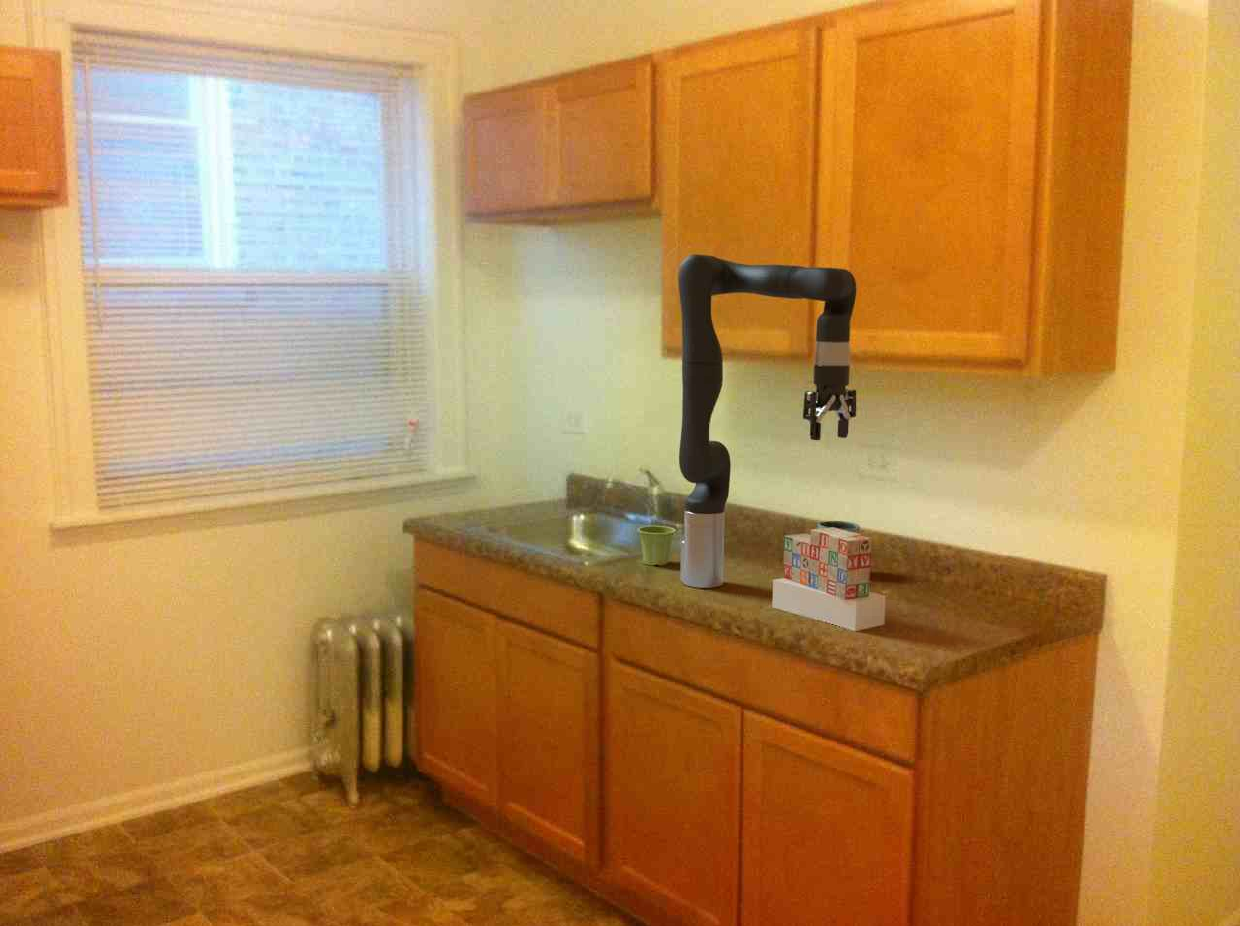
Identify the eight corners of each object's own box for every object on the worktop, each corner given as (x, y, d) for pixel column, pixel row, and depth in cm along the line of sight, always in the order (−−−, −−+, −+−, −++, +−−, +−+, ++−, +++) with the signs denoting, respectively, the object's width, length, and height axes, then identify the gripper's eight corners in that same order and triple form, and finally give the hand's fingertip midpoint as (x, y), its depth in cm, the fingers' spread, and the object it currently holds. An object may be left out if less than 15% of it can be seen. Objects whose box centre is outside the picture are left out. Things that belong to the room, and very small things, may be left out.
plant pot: (682, 563, 293) (682, 529, 292) (658, 569, 286) (659, 534, 285) (653, 557, 299) (653, 524, 298) (629, 563, 292) (630, 529, 291)
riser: (772, 607, 251) (773, 579, 251) (801, 601, 257) (802, 574, 256) (855, 631, 234) (856, 602, 233) (884, 624, 239) (885, 595, 238)
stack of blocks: (781, 577, 253) (783, 521, 251) (805, 574, 256) (807, 519, 254) (845, 600, 234) (848, 539, 233) (869, 596, 237) (872, 537, 236)
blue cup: (826, 566, 292) (828, 519, 291) (864, 572, 287) (866, 523, 285) (808, 573, 284) (810, 524, 283) (847, 579, 278) (849, 530, 277)
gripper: (840, 361, 256) (838, 435, 259) (795, 362, 248) (793, 439, 250) (867, 363, 251) (864, 438, 253) (822, 364, 242) (819, 442, 244)
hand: (829, 438), depth 251 cm, fingers open, 8 cm apart
